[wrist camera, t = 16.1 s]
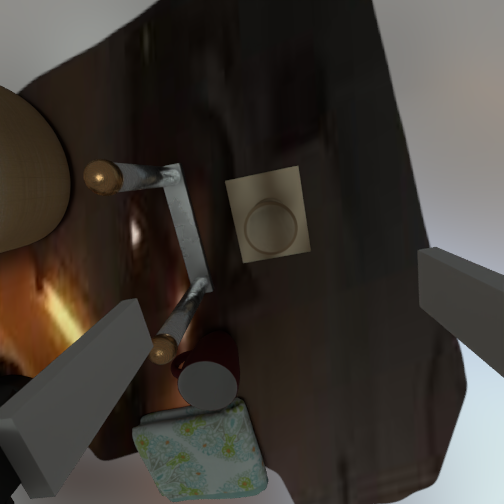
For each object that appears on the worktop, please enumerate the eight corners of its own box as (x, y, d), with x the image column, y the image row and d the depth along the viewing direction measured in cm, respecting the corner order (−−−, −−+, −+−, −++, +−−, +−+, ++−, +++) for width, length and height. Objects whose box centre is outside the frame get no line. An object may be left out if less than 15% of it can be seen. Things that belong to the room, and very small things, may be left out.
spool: (253, 240, 38) (249, 259, 30) (245, 200, 37) (238, 207, 28) (293, 233, 38) (301, 249, 29) (286, 192, 36) (293, 196, 27)
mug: (192, 368, 46) (172, 419, 36) (175, 328, 44) (150, 371, 34) (250, 355, 45) (246, 404, 35) (235, 314, 43) (227, 354, 33)
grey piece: (196, 291, 42) (146, 374, 24) (161, 168, 37) (67, 161, 19) (214, 288, 42) (176, 370, 24) (181, 163, 37) (104, 152, 19)
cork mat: (243, 261, 40) (243, 263, 39) (225, 181, 37) (225, 181, 36) (309, 249, 39) (310, 251, 38) (297, 165, 36) (298, 165, 35)
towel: (136, 412, 50) (122, 438, 45) (244, 392, 47) (242, 417, 42) (169, 480, 55) (160, 510, 50) (269, 466, 52) (270, 496, 47)
